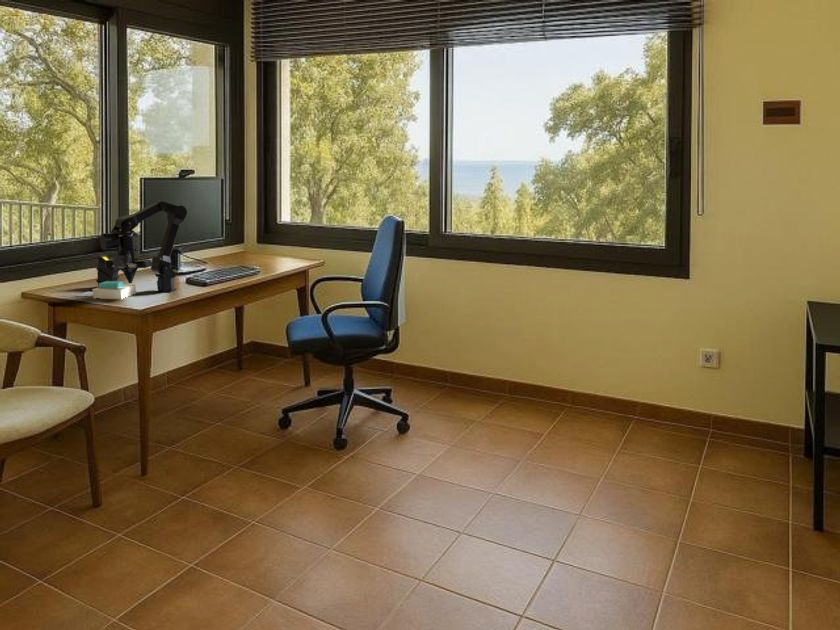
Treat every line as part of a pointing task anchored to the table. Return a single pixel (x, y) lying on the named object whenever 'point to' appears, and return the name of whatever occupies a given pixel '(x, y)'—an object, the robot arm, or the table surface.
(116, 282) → the turquoise slab
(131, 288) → the white flat block
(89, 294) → the mat
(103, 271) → the black stepped slab
